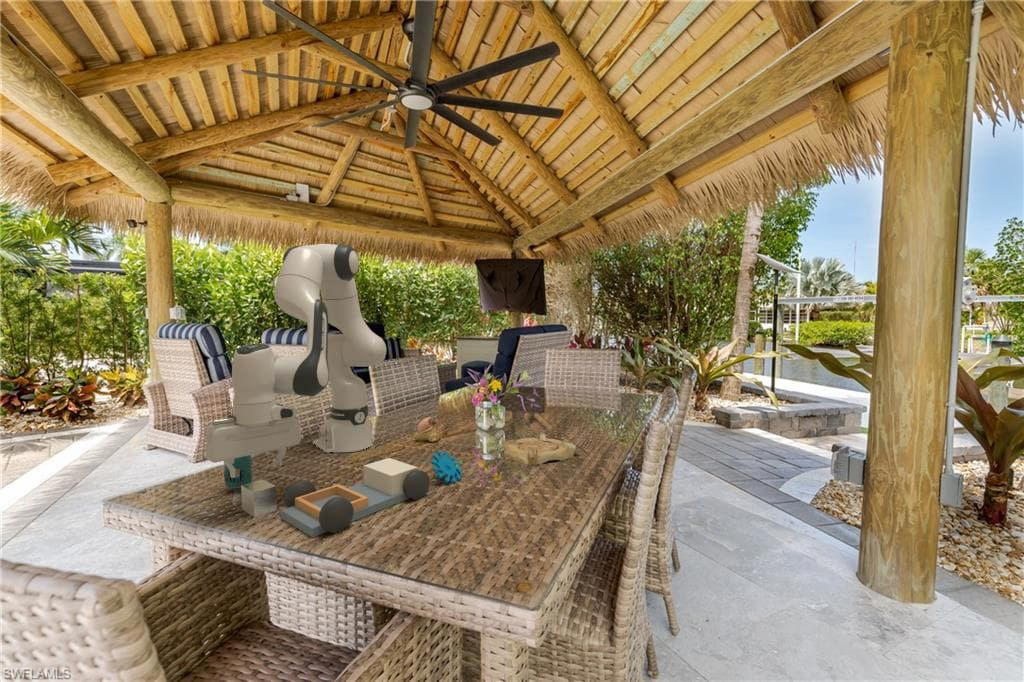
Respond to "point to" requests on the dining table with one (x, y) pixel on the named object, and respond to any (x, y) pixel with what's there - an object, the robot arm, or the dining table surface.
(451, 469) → the gear
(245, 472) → the beverage bottle
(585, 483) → the dining table surface
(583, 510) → the dining table surface
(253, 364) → the robot arm
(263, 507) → the block
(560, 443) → the ashtray
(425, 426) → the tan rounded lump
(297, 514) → the chassis
